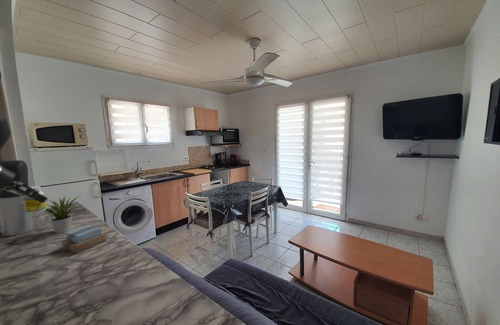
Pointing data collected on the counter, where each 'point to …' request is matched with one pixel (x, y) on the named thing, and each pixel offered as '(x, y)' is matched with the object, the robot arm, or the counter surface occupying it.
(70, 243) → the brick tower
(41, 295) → the counter surface
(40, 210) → the supplement bottle
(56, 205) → the house plant
